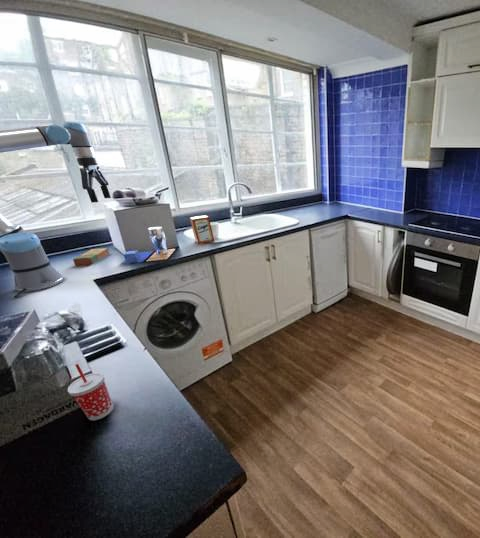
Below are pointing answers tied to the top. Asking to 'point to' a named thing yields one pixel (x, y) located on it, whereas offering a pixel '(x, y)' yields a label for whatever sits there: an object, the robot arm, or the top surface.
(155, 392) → the top surface
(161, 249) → the beer glass
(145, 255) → the blue mat
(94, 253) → the carton
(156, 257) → the amber mat
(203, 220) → the baking soda box
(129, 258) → the blue block
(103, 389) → the beverage cup
